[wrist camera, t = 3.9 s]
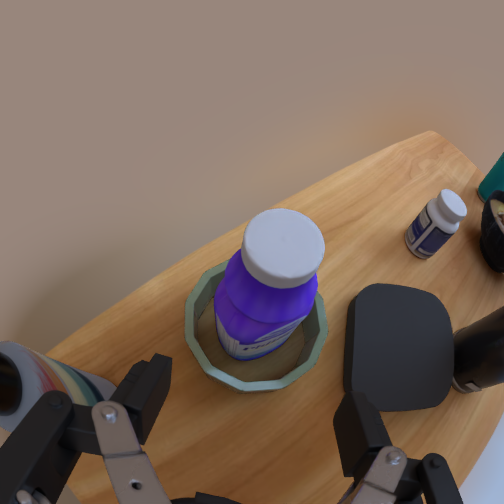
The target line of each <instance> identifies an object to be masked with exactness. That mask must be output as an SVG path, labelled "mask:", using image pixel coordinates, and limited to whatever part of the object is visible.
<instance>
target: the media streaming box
mask: <svg viewBox="0 0 504 504" xmlns="http://www.w3.org/2000/svg"><path fill="white" fill-rule="evenodd" d="M453 372H454V341H453V332H452V326H451V322H450V317H449V315H448V312H447V310H446V308H445V307H444V305H443V304H442V302H441V301H440V300H439V299H438V298H437V297H436V296H435V295H433V294H431V293H429V292H426V291H423V290H419V289H416V288H411V287H406V286H400V285H393V284H380V283H377V284H372V285H369V286H367V287H365V288H364V289H363V290H362V291H361V292H360V293H359V294H358V295H357V296H355V297H354V299H353V300H352V301H351V303H350V305H349V308H348V317H347V329H346V343H345V360H344V389H345V392H347V391H359V392H364V393H365V396H366V398H367V401H368V402H371V403H372V404H373V405H374V406H375V407H376V408H377V409H378V411H383V412H391V411H409V410H417V409H425V408H431V407H436V406H438V405H439V404H440V403H441V402H442V401H443V400H444V399H445V398H446V396H447V394H448V392H449V390H450V388H451V385H452V380H453Z"/></svg>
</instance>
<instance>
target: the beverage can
mask: <svg viewBox="0 0 504 504" xmlns="http://www.w3.org/2000/svg"><path fill="white" fill-rule="evenodd" d="M494 190H502V191H504V152H503V154H502V155H501V157H500V158H499V160H498V161H497V162H496V164H495V165H494V166H493V168H492V169H491V170H490V172H489V173H488V174H487V176H486V177H485V178H484V180H483V181H482V182H481V183H480V185H479V188H478V195H479V197H480V199H481V200H482V201H483V202H484V203H485V202H486V201H487V199H488V197H489V196H490V194H491V193H492V192H493V191H494Z"/></svg>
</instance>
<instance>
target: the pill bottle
mask: <svg viewBox="0 0 504 504" xmlns="http://www.w3.org/2000/svg"><path fill="white" fill-rule="evenodd" d="M466 214H467V209H466V206H465V204H464V202H463V201H462V199H461V198H460V197H459V196H458V195H457V194H456V193H454V192H453V191H451V190H448V189H443V190H442V191H441V192H440V193H439V195H438V196H437V198H434V199H431V200H430V201H429V202H428V203H427V204H426V206H425V207H424V208H423V210H422V211H421V212H420V214H419V215H418V216H417V217H416V219H415V220H414V221H413V222H412V224H411V225H410V226H409V227H408V229H407V230H406V233H405V241H406V244H407V246H408V248H409V249H410V250H411V251H412V253H414V254H415V255H416V256H418V257H420V258H423V259H427V258H430V257H431V256H433V255H434V254H435V253H436V252H437V251H438V250H439V249H440V248H441V247H442V246H443V245H444V244H445V243H446V242H447V240H448V239H449V238H450V237H451V236H452V235H453V234H454V233H455V232H456V231H457V229H458V227H459V222H460V221H462V220H463V218H464V217H465V216H466Z"/></svg>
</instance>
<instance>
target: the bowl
mask: <svg viewBox="0 0 504 504" xmlns="http://www.w3.org/2000/svg"><path fill="white" fill-rule="evenodd" d="M481 233H482V234H481V237H480V248H481V251H482V254H483V256H484V258H485V260H486V262H487V263H488V265H489V266H490V267H491V268H492V269H493V270H494V271H496V272H498V273H504V191H502V190H494V191H493V192H492V193H491V194H490V196H489V197H488V199H487V201H486V202H485V205H484V209H483V212H482V221H481Z"/></svg>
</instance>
